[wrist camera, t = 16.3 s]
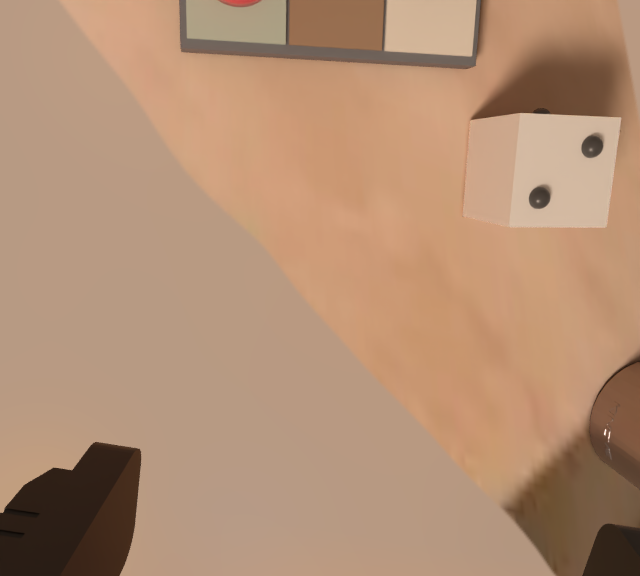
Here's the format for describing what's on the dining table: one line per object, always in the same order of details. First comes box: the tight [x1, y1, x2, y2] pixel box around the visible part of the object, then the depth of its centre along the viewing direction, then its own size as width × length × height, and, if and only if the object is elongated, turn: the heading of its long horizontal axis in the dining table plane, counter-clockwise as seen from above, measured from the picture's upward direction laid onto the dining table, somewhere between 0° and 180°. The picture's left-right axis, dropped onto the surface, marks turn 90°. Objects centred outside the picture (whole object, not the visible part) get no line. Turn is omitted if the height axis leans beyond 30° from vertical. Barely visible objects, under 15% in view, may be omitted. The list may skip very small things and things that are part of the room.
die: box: [463, 108, 621, 228], centre depth 34 cm, size 6×7×7 cm
